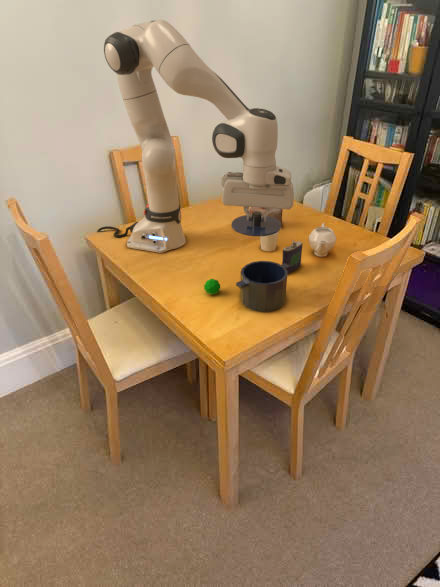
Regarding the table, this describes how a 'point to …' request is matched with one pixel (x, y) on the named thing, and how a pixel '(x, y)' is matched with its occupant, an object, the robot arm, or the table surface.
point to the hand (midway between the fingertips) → (256, 220)
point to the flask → (293, 256)
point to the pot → (263, 285)
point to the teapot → (322, 240)
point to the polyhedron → (212, 286)
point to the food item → (273, 212)
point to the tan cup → (269, 242)
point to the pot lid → (256, 225)
